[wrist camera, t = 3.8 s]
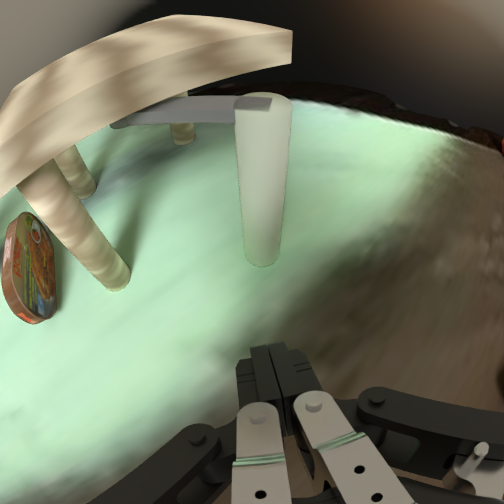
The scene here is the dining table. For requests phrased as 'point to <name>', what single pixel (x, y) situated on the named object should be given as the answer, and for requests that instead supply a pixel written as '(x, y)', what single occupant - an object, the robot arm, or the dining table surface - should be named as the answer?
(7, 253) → the tin
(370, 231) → the dining table surface
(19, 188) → the stool
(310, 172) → the dining table surface
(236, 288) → the dining table surface
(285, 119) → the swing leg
